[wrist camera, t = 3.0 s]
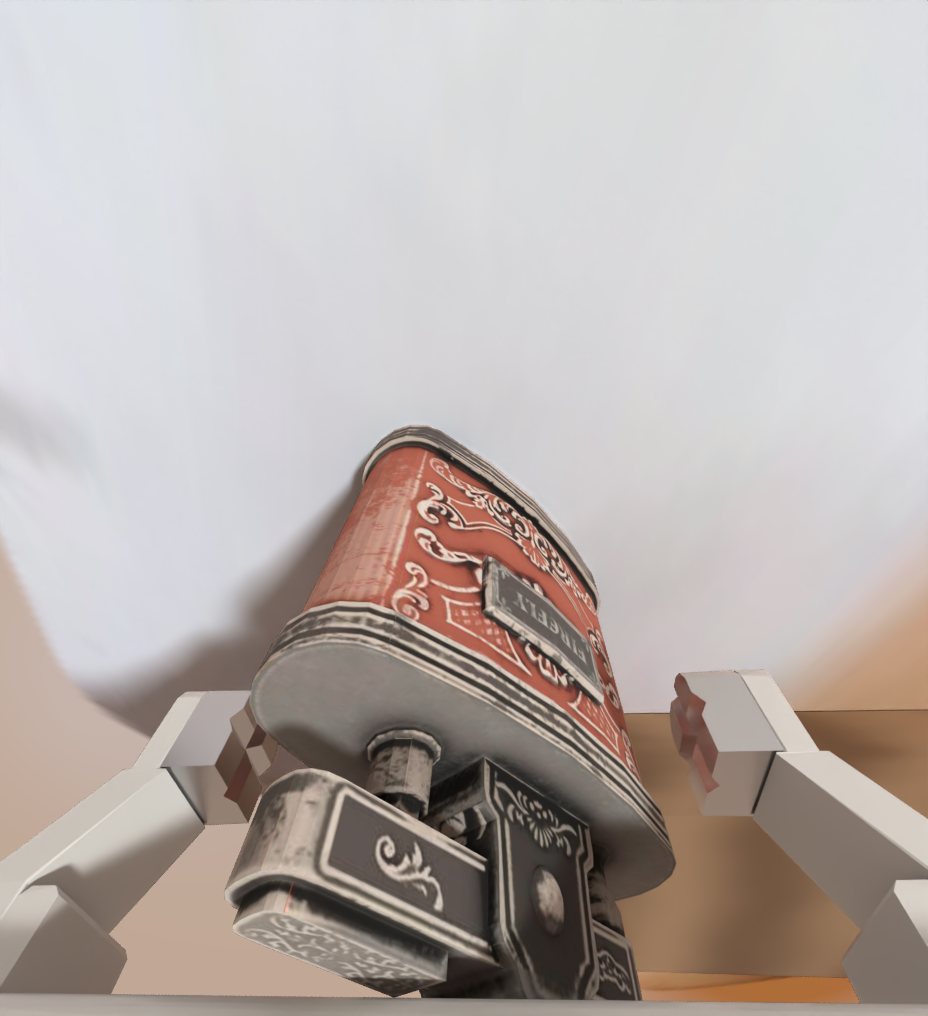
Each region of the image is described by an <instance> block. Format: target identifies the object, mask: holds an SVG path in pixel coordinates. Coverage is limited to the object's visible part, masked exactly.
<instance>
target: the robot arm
mask: <svg viewBox="0 0 928 1016" xmlns="http://www.w3.org/2000/svg"><path fill="white" fill-rule="evenodd" d="M674 688H675V691H676V693H677V695H678V697H677V698H676V699H675V700H674V701H672V702H671V708H670V724H671V731H672V735H673V739H674V742H675V745H676V748H677V751H678V754H679V755H680V756H681V757H682V758H683V759H685V760H686V761H687V762H688V763H689V764H690V769H689V774H688V780H689V783H690V786H691V788H692V791H693V794H694V796H695V799H696V801H697V804H698V807H699V809H700V812H701V815H702V816H753V818H752V819H753V820H754V821H755V822H756V823H757V824H758V825H759V826H760V827H761V828H762V829H763V830H764V831H765V832H766V833H767V834H768V835H769V836H770V837H771V838H772V839H773V840H774V841H775V842H776V844H777V845H778V846H779V847H780V848H781V849H782V850H783V851H784V852H785V853H786V854H787V855H788V856H789V857H790V858H791V859H792V860H793V861H794V862H795V863H796V864H797V865H798V866H799V867H800V868H801V869H802V870H803V871H804V872H805V873H806V874H807V875H808V876H809V877H810V878H811V879H812V880H813V881H814V882H815V883H816V884H817V886H818V887H819V888H820V889H821V890H822V891H823V892H824V893H825V894H826V895H827V896H828V897H829V898H830V899H831V900H832V901H833V902H834V903H835V904H836V905H837V906H838V907H839V908H840V909H841V910H842V911H843V912H844V913H845V914H846V915H847V916H848V917H849V918H850V919H851V920H852V921H853V922H854V923H855V924H856V925H857V926H858V928H859V929H860V930H861V931H860V933H859V934H858V935H857V937H856V938H855V940H854V941H853V943H852V944H851V945H850V947H849V948H848V950H847V951H846V953H845V955H844V957H843V960H842V962H841V964H842V966H843V968H844V970H845V972H846V975H847V977H848V979H849V981H850V983H851V985H852V987H853V989H854V991H855V993H856V995H857V997H858V1000H859V1002H860V1003H786V1002H785V1003H783V1002H781V1003H780V1002H778V1003H777V1002H702V1001H699V1002H698V1001H623V1000H541V999H459V998H377V997H296V996H211V995H210V996H209V995H208V996H207V995H131V994H129V995H128V994H111V993H112V990H113V988H114V986H115V984H116V982H117V980H118V978H119V976H120V974H121V972H122V970H123V967H124V965H125V963H126V961H127V955H126V950H125V949H124V948H123V947H122V946H121V945H120V944H119V943H118V942H117V941H115V940H114V939H113V938H112V937H111V936H110V935H109V933H110V932H111V931H112V930H113V929H114V928H115V927H116V926H117V924H118V923H119V922H120V921H121V920H122V919H123V918H124V917H125V916H126V914H127V913H128V912H129V911H130V910H131V909H132V908H133V907H134V906H135V904H136V903H137V902H138V901H139V900H140V899H141V898H142V897H143V896H144V895H145V893H146V892H147V891H148V890H149V889H150V888H151V887H152V886H153V885H154V884H155V883H156V881H157V880H158V879H159V878H160V877H161V876H162V875H163V874H164V873H165V871H166V870H167V869H168V868H169V867H170V866H171V865H172V864H173V863H174V862H175V860H176V859H177V858H178V857H179V856H180V855H181V854H182V853H183V852H184V851H185V850H186V848H187V847H188V846H189V845H190V844H191V843H192V842H193V841H194V840H195V838H196V837H197V836H198V835H199V834H200V833H201V832H202V831H203V830H204V829H205V826H204V825H218V824H238V823H248V822H249V820H250V817H251V815H252V812H253V810H254V807H255V805H256V802H257V800H258V797H259V795H260V792H261V790H262V785H261V781H260V778H259V776H260V775H261V774H262V773H263V772H265V771H266V770H267V769H268V768H269V767H270V766H271V764H272V762H273V759H274V756H275V754H276V751H277V744H278V743H277V742H275V741H274V740H273V739H271V737H270V736H269V735H268V734H267V733H266V732H265V731H264V730H263V729H262V728H261V727H260V726H259V725H258V723H257V722H256V720H255V717H254V714H253V711H252V709H251V706H250V703H249V701H250V695H251V691H193V692H185V693H184V694H182V695H181V696H180V697H178V698H177V700H176V701H175V703H174V704H173V706H172V707H171V709H170V710H169V712H168V713H167V715H166V716H165V718H164V719H163V721H162V723H161V724H160V726H159V727H158V729H157V730H156V732H155V733H154V735H153V736H152V738H151V739H150V741H149V742H148V744H147V745H146V747H145V748H144V750H143V751H142V753H141V754H140V756H139V757H138V759H137V761H136V762H135V764H134V765H133V767H132V768H131V769H123V770H122V771H121V772H119V773H118V774H117V775H115V776H114V777H113V778H111V779H110V780H109V781H107V782H106V783H105V784H104V785H102V786H101V787H99V788H98V789H97V790H95V791H94V792H93V793H91V794H90V795H89V796H87V797H86V798H85V799H84V800H82V801H81V802H80V803H79V804H77V805H76V806H74V807H73V808H72V809H70V810H69V811H68V812H66V813H65V814H64V815H62V816H61V817H60V818H58V819H57V820H56V821H55V822H53V823H52V824H50V825H49V826H48V827H46V828H45V829H44V830H43V831H41V832H40V833H39V834H37V835H36V836H35V837H33V838H32V839H31V840H29V841H28V842H27V843H25V844H24V845H23V846H21V847H20V848H19V849H17V850H16V851H15V852H13V853H12V854H11V855H9V856H8V857H7V858H5V859H4V860H3V861H1V862H0V1016H928V819H927V818H925V817H924V816H923V815H921V814H920V813H918V812H917V811H915V810H914V809H912V808H911V807H910V806H908V805H907V804H905V803H904V802H902V801H901V800H899V799H898V798H896V797H895V796H894V795H892V794H891V793H889V792H888V791H886V790H885V789H883V788H882V787H881V786H879V785H878V784H876V783H875V782H873V781H872V780H870V779H869V778H868V777H866V776H865V775H863V774H862V773H860V772H859V771H857V770H856V769H855V768H853V767H852V766H850V765H849V764H847V763H846V762H844V761H843V760H841V759H840V758H839V757H837V756H836V755H834V754H833V753H831V752H830V751H819V749H818V748H817V746H816V744H815V743H814V741H813V740H812V738H811V737H810V735H809V734H808V732H807V731H806V729H805V728H804V726H803V725H802V723H801V722H800V720H799V719H798V717H797V715H796V714H795V712H794V711H793V709H792V708H791V706H790V705H789V703H788V702H787V700H786V699H785V697H784V696H783V694H782V693H781V691H780V690H779V688H778V686H777V685H776V683H775V682H774V680H773V679H772V677H771V676H770V674H769V673H767V672H766V671H765V670H739V671H732V670H728V671H709V672H689V673H679V674H678V675H677V676H676V678H675V684H674Z"/></svg>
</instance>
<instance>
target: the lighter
mask: <svg viewBox="0 0 928 1016" xmlns="http://www.w3.org/2000/svg"><path fill="white" fill-rule="evenodd" d="M361 482H362V491H361V493H360V495H359V497H358V499H357V501H356V503H355V505H354V507H353V509H352V511H351V513H350V515H349V517H348V519H347V521H346V523H345V525H344V527H343V529H342V531H341V533H340V535H339V538H338V540H337V542H336V544H335V546H334V548H333V550H332V552H331V554H330V556H329V558H328V560H327V562H326V564H325V566H324V568H323V570H322V572H321V574H320V576H319V578H318V580H317V582H316V584H315V586H314V589H313V591H312V593H311V595H310V597H309V599H308V601H307V603H306V605H305V607H304V609H303V611H302V613H301V614H300V615H298V616H297V617H295V618H294V619H292V620H290V621H289V622H288V623H287V624H286V625H285V627H284V628H283V629H282V631H281V632H280V633H279V635H278V636H277V637H276V639H275V640H274V642H273V644H272V646H271V648H270V649H269V651H268V653H267V655H266V657H265V659H264V661H263V663H262V665H261V667H260V669H259V670H258V672H257V674H256V676H255V678H254V680H253V682H252V689H251V695H250V701H249V703H250V706H251V709H252V711H253V714H254V717H255V720H256V722H257V723H258V725H259V726H260V727H261V728H262V729H263V730H264V731H265V732H266V733H267V734H268V735H269V736H270V737H271V739H273V740H274V741H275V742H277V743H278V744H279V745H281V746H282V747H283V748H285V749H286V750H287V751H289V752H290V753H291V754H293V755H294V756H295V757H297V758H298V759H299V760H301V761H302V762H303V763H304V764H306V765H307V766H308V767H310V768H307V769H297V770H294V771H292V772H290V773H288V774H286V775H284V776H282V777H280V778H279V779H277V780H276V781H275V782H273V783H272V784H271V785H270V786H269V787H268V788H267V789H266V790H265V791H264V793H263V796H262V798H261V801H260V803H259V806H258V808H257V811H256V813H255V816H254V818H253V821H252V823H251V826H250V828H249V831H248V833H247V836H246V838H245V841H244V844H243V846H242V848H241V851H240V853H239V856H238V858H237V861H236V863H235V866H234V868H233V871H232V874H231V876H230V878H229V881H228V884H227V886H226V888H225V891H224V895H225V896H224V897H225V900H226V901H227V902H228V903H229V904H230V905H231V906H232V907H234V908H236V909H238V912H237V915H236V918H235V920H234V923H233V926H232V930H233V931H234V932H235V933H237V934H238V935H240V936H242V937H244V938H246V939H248V940H250V941H252V942H255V943H257V944H260V945H263V946H265V947H267V948H270V949H272V950H275V951H277V952H280V953H283V954H285V955H288V956H290V957H293V958H296V959H298V960H300V961H303V962H305V963H308V964H310V965H313V966H316V967H318V968H320V969H323V970H325V971H328V972H331V973H333V974H336V975H338V976H341V977H343V978H346V979H348V980H351V981H353V982H356V983H358V984H361V985H363V986H366V987H368V988H371V989H374V990H376V991H379V992H381V993H384V994H386V995H389V996H391V997H398V996H401V995H404V994H407V993H410V992H413V991H417V990H419V992H420V993H421V997H422V998H459V999H541V1000H623V1001H643V1000H642V995H641V990H640V985H639V980H638V975H637V970H636V964H635V959H634V954H633V949H632V944H631V942H630V941H628V940H627V939H626V938H625V933H624V928H623V922H622V917H621V913H620V911H619V909H618V907H617V905H616V903H615V901H618V900H622V899H626V898H630V897H634V896H638V895H641V894H643V893H645V892H648V891H650V890H652V889H654V888H656V887H659V886H660V885H661V884H662V883H663V882H665V881H666V880H667V879H668V878H669V877H671V876H672V874H673V871H674V869H675V866H676V864H677V863H676V860H675V856H674V853H673V849H672V846H671V842H670V839H669V836H668V832H667V829H666V825H665V822H664V818H663V815H662V813H661V810H660V807H659V805H658V804H657V803H656V802H655V800H654V799H653V798H652V797H651V796H650V794H649V793H648V792H647V791H646V790H645V788H644V787H643V783H642V779H641V776H640V772H639V768H638V764H637V761H636V757H635V753H634V750H633V746H632V742H631V739H630V735H629V731H628V728H627V724H626V720H625V717H624V713H623V709H622V706H621V702H620V698H619V695H618V691H617V687H616V684H615V680H614V676H613V673H612V669H611V665H610V662H609V658H608V654H607V650H606V647H605V643H604V639H603V636H602V632H601V628H600V625H599V621H598V617H597V615H598V613H599V607H600V598H599V595H598V592H597V588H596V585H595V581H594V579H593V576H592V573H591V571H590V570H589V568H588V567H587V565H586V564H585V562H584V561H583V560H582V558H581V557H580V555H579V554H578V552H577V551H576V549H575V548H574V546H573V545H572V543H571V542H570V540H569V539H568V537H567V536H566V535H565V534H564V533H563V532H562V530H561V529H560V528H559V527H558V526H557V525H556V524H555V523H554V522H553V520H552V519H551V518H550V517H549V516H548V515H547V514H546V513H545V511H544V510H543V509H542V508H541V507H540V506H539V505H538V504H537V503H536V501H535V500H534V499H533V498H532V497H530V496H529V495H528V494H527V493H526V492H524V491H523V490H522V489H521V488H520V487H518V486H517V485H516V484H515V483H514V482H512V481H511V480H510V479H509V478H508V477H506V476H505V475H504V474H503V473H501V472H500V471H499V470H498V469H497V468H495V467H494V466H493V465H492V464H491V463H489V462H488V461H486V460H485V459H483V458H482V457H480V456H478V455H477V454H475V453H474V452H472V451H471V450H469V449H468V448H466V447H465V446H463V445H462V444H460V443H458V442H457V441H455V440H454V439H452V438H451V437H449V436H448V435H446V434H445V433H443V432H441V431H439V430H437V429H434V428H432V427H429V426H420V425H410V426H407V427H403V428H400V429H397V430H394V431H393V432H392V433H390V434H389V435H387V436H386V437H385V438H383V439H382V440H381V441H380V443H379V444H378V445H377V447H376V448H375V450H374V451H373V453H372V455H371V456H370V458H369V460H368V462H367V464H366V466H365V470H364V473H363V477H362V481H361Z"/></svg>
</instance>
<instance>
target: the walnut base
mask: <svg viewBox="0 0 928 1016" xmlns="http://www.w3.org/2000/svg"><path fill="white" fill-rule="evenodd" d="M795 714H796V715H797V717H798V719H799V720H800V722H801V723H802V725H803V726H804V728H805V729H806V731H807V732H808V734H809V735H810V737H811V738H812V740H813V741H814V743H815V744H816V746H817V748H818V749H819V751H830V752H831V753H833V754H834V755H836V756H837V757H839V758H840V759H841V760H843V761H844V762H846V763H847V764H849V765H850V766H852V767H853V768H855V769H856V770H857V771H859V772H860V773H862V774H863V775H865V776H866V777H868V778H869V779H870V780H872V781H873V782H875V783H876V784H878V785H879V786H881V787H882V788H883V789H885V790H886V791H888V792H889V793H891V794H892V795H894V796H895V797H896V798H898V799H899V800H901V801H902V802H904V803H905V804H907V805H908V806H910V807H911V808H912V809H914V810H915V811H917V812H918V813H920V814H921V815H923V816H924V817H925V818H927V819H928V710H905V711H826V712H795ZM624 717H625V720H626V724H627V728H628V731H629V735H630V739H631V742H632V746H633V750H634V753H635V757H636V761H637V764H638V768H639V772H640V776H641V779H642V783H643V787H644V788H645V790H646V791H647V792H648V793H649V794H650V796H651V797H652V798H653V799H654V800H655V802H656V803H657V804H658V805H659V807H660V810H661V813H662V815H663V818H664V822H665V825H666V829H667V832H668V836H669V839H670V842H671V846H672V849H673V853H674V856H675V860H676V863H677V864H676V866H675V869H674V871H673V874H672V876H671V877H669V878H668V879H667V880H666V881H665V882H663V883H662V884H661V885H660V886H659V887H656V888H654V889H652V890H650V891H648V892H645V893H643V894H641V895H638V896H634V897H630V898H626V899H622V900H618V901H615V903H616V905H617V907H618V909H619V911H620V913H621V917H622V922H623V928H624V933H625V938H626V939H627V940H628V941H630V942H631V944H632V949H633V954H634V959H635V964H636V970H637V971H639V972H671V973H703V974H735V975H767V976H799V977H834V978H848V977H847V975H846V972H845V970H844V968H843V966H842V964H841V962H842V960H843V957H844V955H845V953H846V951H847V950H848V948H849V947H850V945H851V944H852V943H853V941H854V940H855V938H856V937H857V935H858V934H859V933H860V931H861V930H860V929H859V928H858V926H857V925H856V924H855V923H854V922H853V921H852V920H851V919H850V918H849V917H848V916H847V915H846V914H845V913H844V912H843V911H842V910H841V909H840V908H839V907H838V906H837V905H836V904H835V903H834V902H833V901H832V900H831V899H830V898H829V897H828V896H827V895H826V894H825V893H824V892H823V891H822V890H821V889H820V888H819V887H818V886H817V884H816V883H815V882H814V881H813V880H812V879H811V878H810V877H809V876H808V875H807V874H806V873H805V872H804V871H803V870H802V869H801V868H800V867H799V866H798V865H797V864H796V863H795V862H794V861H793V860H792V859H791V858H790V857H789V856H788V855H787V854H786V853H785V852H784V851H783V850H782V849H781V848H780V847H779V846H778V845H777V844H776V842H775V841H774V840H773V839H772V838H771V837H770V836H769V835H768V834H767V833H766V832H765V831H764V830H763V829H762V828H761V827H760V826H759V825H758V824H757V823H756V822H755V821H754V820H753V819H752V818H753V816H702V815H701V812H700V809H699V807H698V804H697V801H696V799H695V796H694V794H693V791H692V788H691V786H690V783H689V780H688V774H689V769H690V764H689V763H688V762H687V761H686V760H685V759H683V758H682V757H681V756H680V755H679V754H678V751H677V748H676V745H675V742H674V739H673V735H672V731H671V724H670V713H669V714H624Z"/></svg>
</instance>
